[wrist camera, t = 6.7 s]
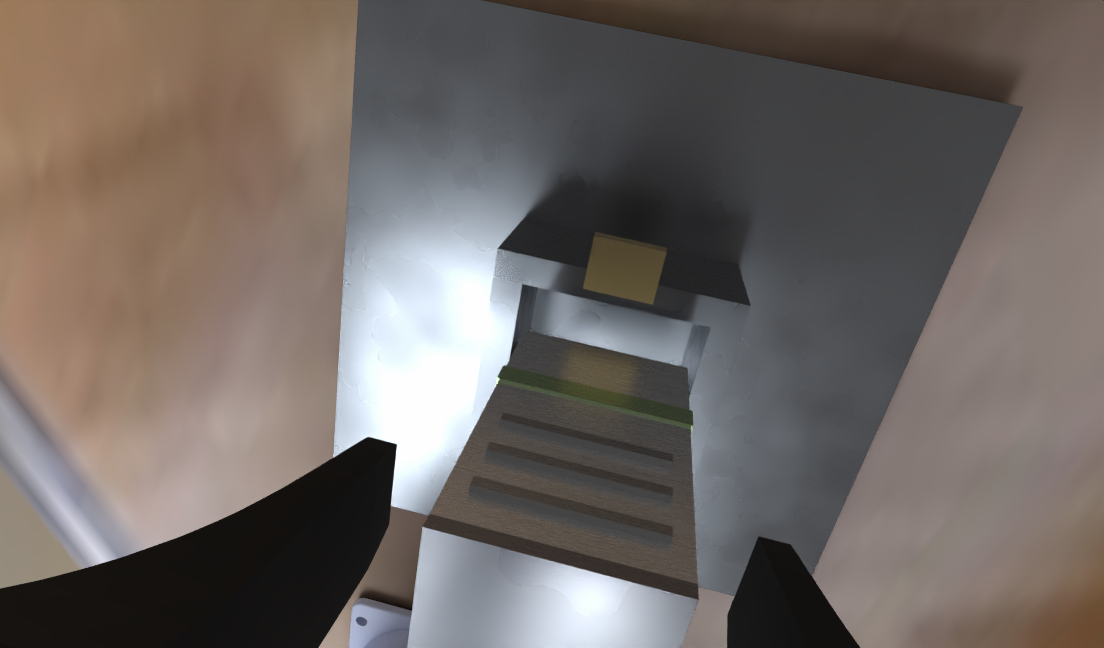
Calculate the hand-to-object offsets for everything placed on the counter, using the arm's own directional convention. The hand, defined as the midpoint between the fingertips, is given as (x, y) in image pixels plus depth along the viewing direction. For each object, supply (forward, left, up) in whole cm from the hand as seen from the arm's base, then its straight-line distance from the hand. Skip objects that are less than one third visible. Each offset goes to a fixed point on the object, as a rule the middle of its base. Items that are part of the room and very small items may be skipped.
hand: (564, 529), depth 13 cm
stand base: (0, 0, -10) cm, 10 cm away
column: (0, 0, -4) cm, 4 cm away
